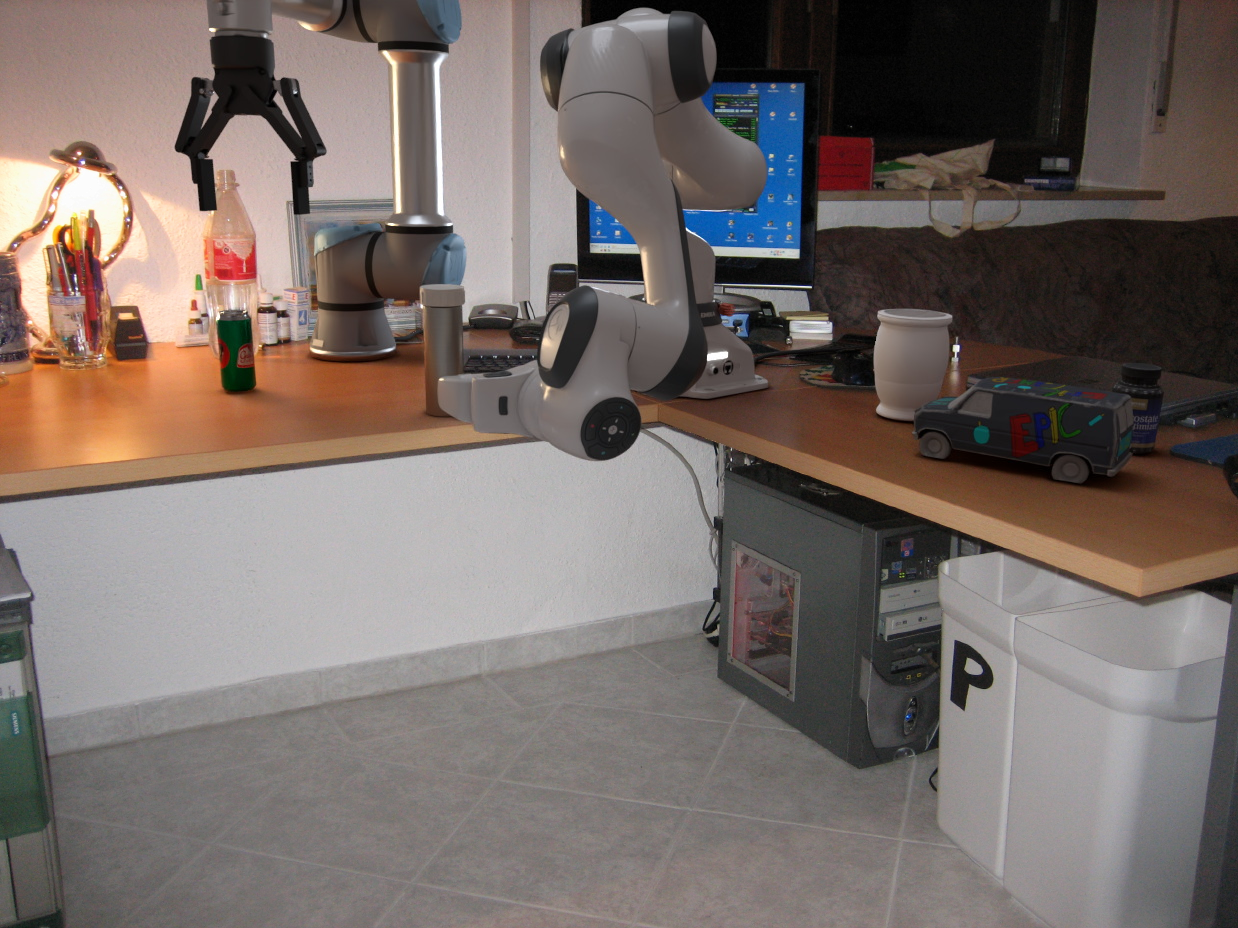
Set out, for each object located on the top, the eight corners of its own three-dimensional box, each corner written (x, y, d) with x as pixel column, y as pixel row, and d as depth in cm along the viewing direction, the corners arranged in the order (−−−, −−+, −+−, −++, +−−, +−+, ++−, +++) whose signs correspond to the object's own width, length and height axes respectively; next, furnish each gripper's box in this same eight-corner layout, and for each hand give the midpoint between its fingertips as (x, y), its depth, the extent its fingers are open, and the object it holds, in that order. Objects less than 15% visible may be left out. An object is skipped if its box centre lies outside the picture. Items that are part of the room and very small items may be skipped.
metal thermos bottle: (469, 409, 156) (467, 288, 151) (457, 417, 151) (454, 293, 146) (434, 406, 157) (430, 287, 152) (420, 415, 152) (416, 291, 147)
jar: (854, 409, 159) (862, 309, 155) (910, 404, 163) (920, 306, 159) (898, 426, 150) (909, 320, 146) (957, 420, 154) (969, 317, 150)
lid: (471, 301, 152) (470, 285, 151) (456, 307, 146) (456, 290, 145) (429, 300, 153) (428, 283, 152) (413, 305, 147) (412, 288, 146)
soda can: (245, 393, 162) (239, 314, 158) (215, 391, 163) (208, 313, 159) (262, 387, 166) (257, 310, 163) (233, 385, 167) (226, 308, 164)
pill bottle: (1117, 454, 138) (1130, 370, 135) (1094, 442, 144) (1106, 361, 140) (1163, 454, 138) (1177, 370, 135) (1139, 442, 144) (1152, 361, 141)
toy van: (934, 436, 145) (942, 364, 142) (1131, 470, 131) (1144, 390, 128) (905, 453, 136) (913, 376, 134) (1112, 490, 123) (1125, 406, 120)
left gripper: (134, 34, 131) (152, 210, 137) (317, 32, 126) (327, 217, 132) (172, 40, 138) (188, 208, 144) (347, 39, 133) (356, 214, 139)
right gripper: (624, 365, 127) (572, 347, 139) (463, 379, 117) (420, 358, 129) (623, 417, 129) (571, 394, 140) (464, 434, 119) (422, 409, 131)
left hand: (254, 213), depth 138 cm, fingers open, 13 cm apart
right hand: (498, 377), depth 135 cm, fingers open, 8 cm apart
